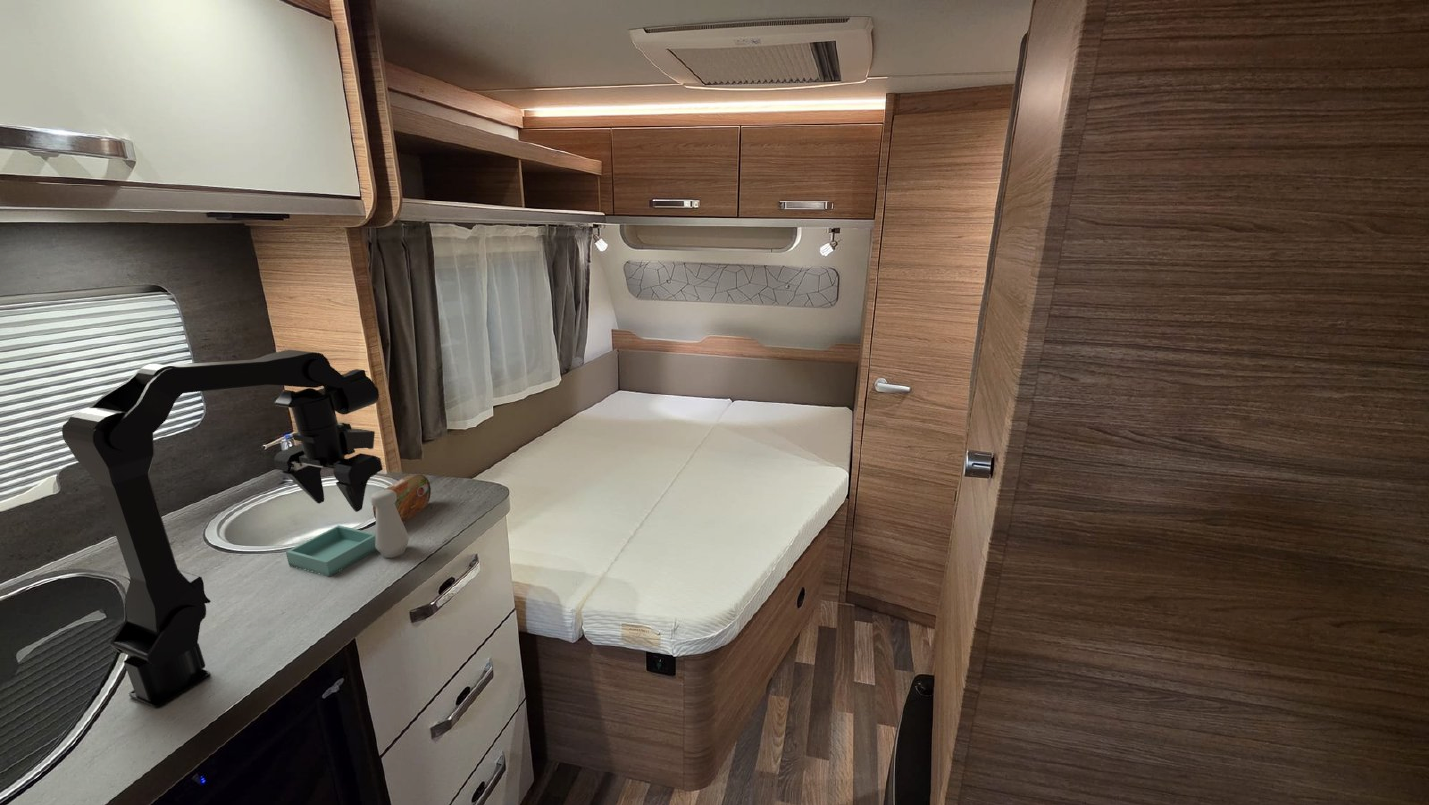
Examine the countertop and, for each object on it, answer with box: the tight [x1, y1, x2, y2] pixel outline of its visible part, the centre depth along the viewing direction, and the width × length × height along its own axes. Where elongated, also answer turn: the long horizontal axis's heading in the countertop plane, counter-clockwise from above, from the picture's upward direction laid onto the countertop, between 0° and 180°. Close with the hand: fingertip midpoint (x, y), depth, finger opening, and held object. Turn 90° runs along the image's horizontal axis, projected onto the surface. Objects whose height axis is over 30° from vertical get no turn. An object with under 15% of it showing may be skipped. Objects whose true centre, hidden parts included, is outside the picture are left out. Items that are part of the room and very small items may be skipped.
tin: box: [372, 474, 432, 524], centre depth 127 cm, size 15×3×8 cm, turn 168°
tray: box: [285, 524, 378, 577], centre depth 113 cm, size 11×11×3 cm
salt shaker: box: [370, 489, 410, 559], centre depth 113 cm, size 6×6×13 cm
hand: (339, 506), depth 103 cm, fingers open, 9 cm apart
